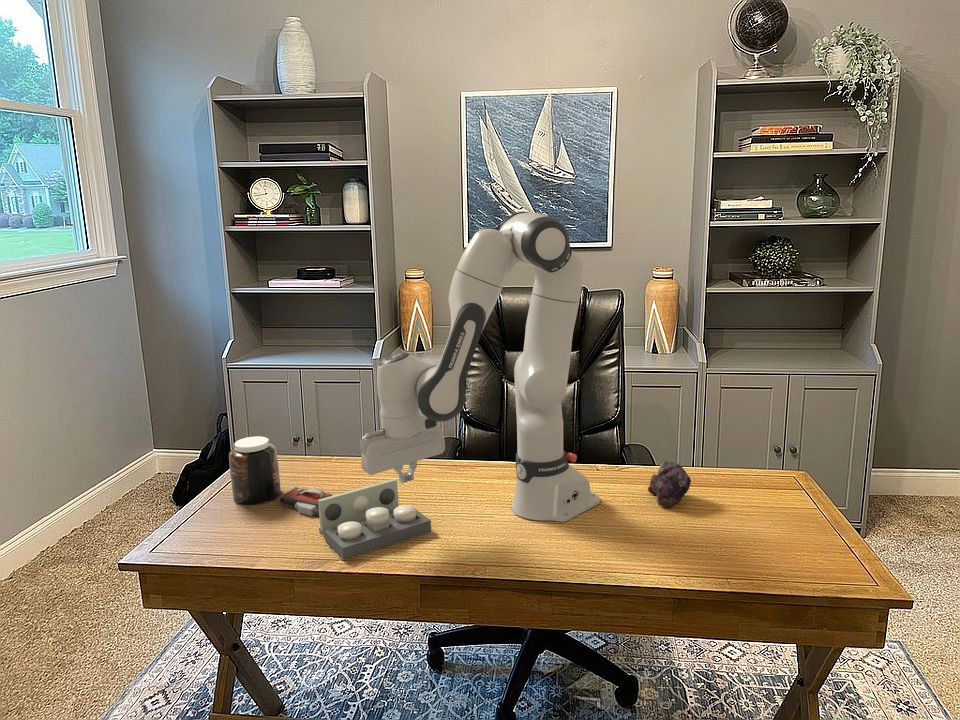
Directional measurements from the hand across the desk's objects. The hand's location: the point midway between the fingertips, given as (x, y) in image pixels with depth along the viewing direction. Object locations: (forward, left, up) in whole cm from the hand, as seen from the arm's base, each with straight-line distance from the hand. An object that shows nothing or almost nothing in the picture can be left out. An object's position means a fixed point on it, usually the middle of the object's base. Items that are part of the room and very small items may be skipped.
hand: (406, 481), depth 174 cm
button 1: (+15, 0, -12) cm, 19 cm away
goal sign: (+8, -10, -12) cm, 17 cm away
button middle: (+8, 0, -10) cm, 13 cm away
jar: (+23, -41, -12) cm, 48 cm away
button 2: (+1, 0, -12) cm, 12 cm away
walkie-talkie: (+13, -24, -13) cm, 30 cm away
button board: (+8, 0, -12) cm, 14 cm away
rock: (-60, +26, -12) cm, 66 cm away
